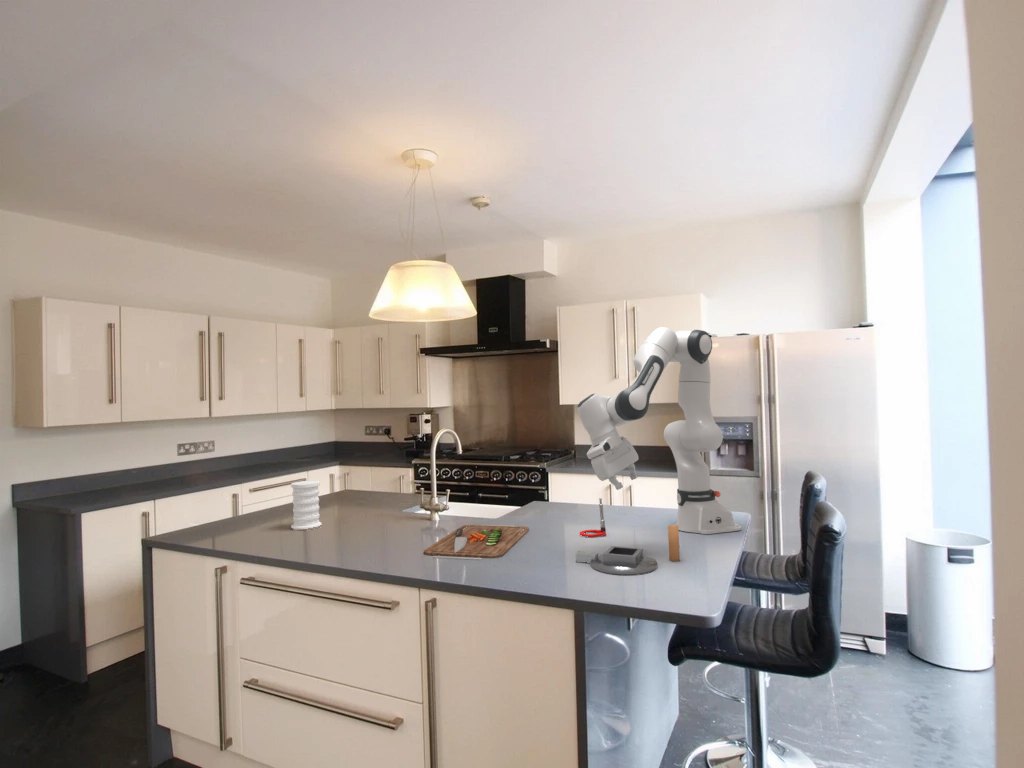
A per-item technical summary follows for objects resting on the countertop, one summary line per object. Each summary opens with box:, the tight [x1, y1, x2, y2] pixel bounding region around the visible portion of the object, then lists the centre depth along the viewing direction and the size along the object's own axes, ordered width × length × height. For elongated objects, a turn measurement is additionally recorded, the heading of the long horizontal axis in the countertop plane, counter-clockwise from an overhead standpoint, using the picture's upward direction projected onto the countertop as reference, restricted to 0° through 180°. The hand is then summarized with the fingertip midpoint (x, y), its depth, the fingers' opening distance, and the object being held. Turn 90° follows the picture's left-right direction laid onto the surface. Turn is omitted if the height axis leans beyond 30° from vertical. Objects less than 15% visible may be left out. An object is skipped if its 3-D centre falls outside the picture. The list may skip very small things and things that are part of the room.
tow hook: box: [578, 497, 607, 538], centre depth 206 cm, size 8×13×9 cm
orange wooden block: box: [667, 524, 681, 562], centre depth 171 cm, size 3×3×10 cm
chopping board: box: [423, 524, 530, 561], centre depth 201 cm, size 45×27×3 cm, turn 164°
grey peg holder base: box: [575, 545, 658, 576], centre depth 169 cm, size 19×24×4 cm
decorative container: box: [290, 480, 323, 529], centre depth 233 cm, size 12×12×18 cm
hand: (627, 483), depth 181 cm, fingers open, 8 cm apart
